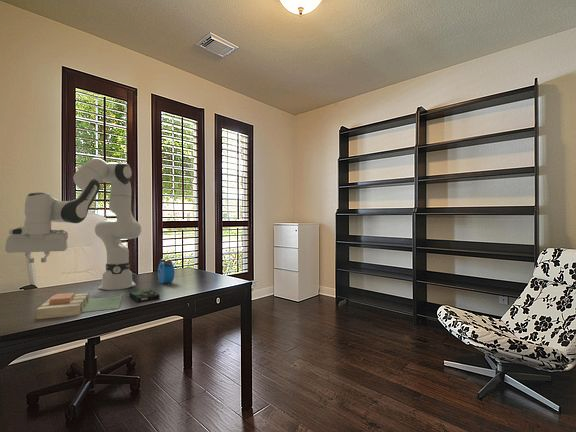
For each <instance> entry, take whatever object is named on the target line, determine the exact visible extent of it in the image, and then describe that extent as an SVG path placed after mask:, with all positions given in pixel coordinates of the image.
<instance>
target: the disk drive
mask: <svg viewBox="0 0 576 432" xmlns="http://www.w3.org/2000/svg"><path fill="white" fill-rule="evenodd" d="M129 297H130V298H131V299H132V300H134V301H135V302H136V303H144V302H149V301H155V300H159V299H160V293H157V292H156V291H154V290H153V289H142V290H137V291H130V293H129Z"/></svg>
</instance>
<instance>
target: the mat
mask: <svg viewBox="0 0 576 432" xmlns="http://www.w3.org/2000/svg"><path fill="white" fill-rule="evenodd" d="M122 299H123V295H118V296H117V295H116V296H105V297H97V298H89V301H88V302H87V304H86V305H85V307H84V308H83V309H82V311H81V313H80V314H82V313H88V312H89V313H90V312H91V313H92V312H102V311H109V310H110V311H111V310H119V309H120V306H121V303H122Z"/></svg>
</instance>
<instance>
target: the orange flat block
mask: <svg viewBox="0 0 576 432" xmlns="http://www.w3.org/2000/svg"><path fill="white" fill-rule="evenodd" d="M75 294H76V292H65V293H56V294H54V295H52V296H53V297H52V296H51V297H52V298H51V297H50V298H51V299H50V298H49V299H50V300H49V299H48V300H49V304H60V303H70V302H71V301H72V300H73V298H74V297H75Z"/></svg>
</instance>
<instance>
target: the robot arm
mask: <svg viewBox="0 0 576 432" xmlns="http://www.w3.org/2000/svg"><path fill="white" fill-rule="evenodd" d="M132 177H133V170H132V168H131V166H130V165H129V164H128V163H125V162H106V161H105V160H103V159H101V158H100V157H93V158H91V159H89V160H88V161H86V162H85V163H84V164H82V165H81V166H80V167H79V168H78V169H77V170H76V171H75V173H74V175H73V177H72V179H73V182H74V184H75V185H76V187H77V188H78V189H80V191H81V192H80V194H79V195H78V197H77V198H75V199H73V200H58V199H57V198H55V197H53V196H52V195H51V194H50V193H49V192H45V191H41V192H38V191H37V192H31V193H28V194H26V198H25V203H24V215H25V219H24V223H23V224H24V225H23V226H18V227H16V228H12V229H10V230H8V234H9V235H8V236H7V238H6V241H5V247H4V248H5V249H4V250H5V252H6V253H8V254H11V253H14V254H15V253H16V254H17V253H18V254H19V253H24V256H25V257H26V259H28V261H27V262H28V264H34V263H35V258H34V257H32V256H31V255H32V253H40V252H41V253H44V255H45V256H44V257H41V258H40V263H47V258H48V256H50V254H51V252H65V251H67V249H68V241H67V240H68V238H69V234H68V231H66V230H64V229H52V223H70V224H79V223H82V222H83V221H84V220H85V219H86V217H87V216H88V213H89V210H90V207H91V205H92V203H93V202H94V200H95V198H96V197H97V195H98V193H99V191H100V188H101V184H100V183H102V184H103V183H108V184H109V183H110V186H111V187H110V191H109V202H108V208H109V211H110V212H111V213H113V214H114V215H115V217H116V219H107V220H102V221H99V222H97V223H96V225H95V227H94V233H95V235H96V237H98V238H99V239H100V240H101V241H102V242H103V244H104V247H105V250H106V264H105V271H104V272H103V273H102V277H101V278H102V279H101V281H102V282H101V285H100V286H98V287H97V290H98V289H99V290H107V291H115V290H124V289H129V288H131V287H136V285H137V284H136V283H135V282H134V281H133V272H132V271H131V270H130V266H131V265H130V262H129V261H130V259H129V255H130V253H129V252H130V251H129V248H128V247H127V246H126V245H124V244H123V243H122V241H121V240H132V239H137V238H138V237H140V235H141V233H142V226H141V224H140V222H138V220H136V219H135V218H134V216H133V213H132V185H131V179H132Z"/></svg>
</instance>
